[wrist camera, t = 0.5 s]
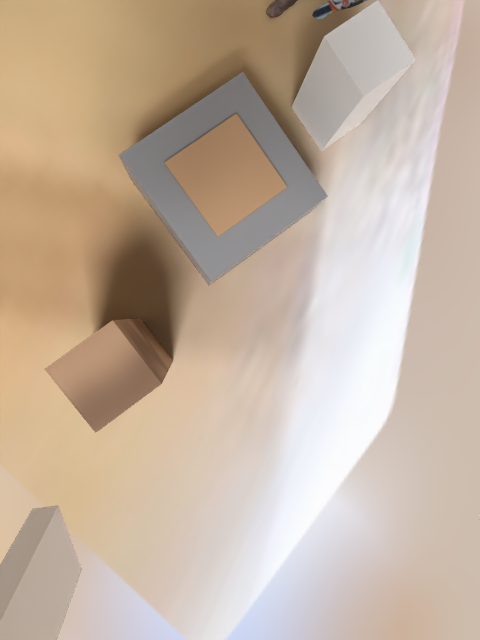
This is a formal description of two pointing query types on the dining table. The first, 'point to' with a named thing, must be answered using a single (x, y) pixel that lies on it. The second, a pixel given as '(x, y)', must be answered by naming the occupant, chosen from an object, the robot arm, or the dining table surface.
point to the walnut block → (111, 370)
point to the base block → (223, 178)
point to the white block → (351, 74)
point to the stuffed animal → (282, 3)
